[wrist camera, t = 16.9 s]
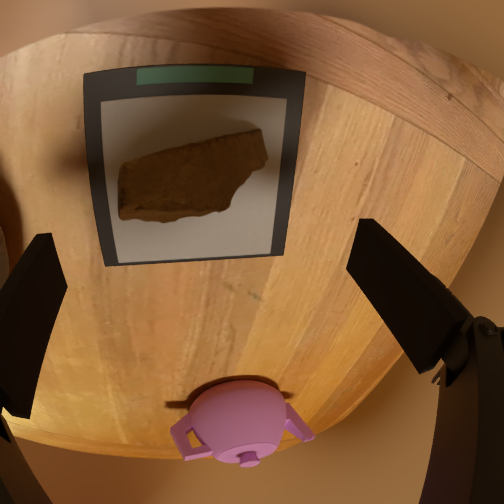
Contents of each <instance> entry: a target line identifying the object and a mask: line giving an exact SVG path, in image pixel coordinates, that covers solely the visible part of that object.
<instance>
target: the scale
mask: <svg viewBox="0 0 504 504" xmlns="http://www.w3.org/2000/svg"><path fill="white" fill-rule="evenodd" d="M305 77H306V72H303V71H296V70H289V69H281V68H272V67H262V66H249V65H233V64H165V65H149V66H137V67H127V68H118V69H111V70H104V71H97V72H91V73H85V74H84V76H83V95H84V124H85V140H86V152H87V162H88V171H89V180H90V187H91V195H92V201H93V208H94V214H95V220H96V225H97V231H98V236H99V241H100V246H101V251H102V255H103V260H104V264H105V266H106V267H107V266H124V265H141V264H157V263H174V262H190V261H206V260H222V259H237V258H253V257H268V256H283V255H284V248H285V241H286V234H287V227H288V220H289V213H290V206H291V198H292V191H293V183H294V175H295V167H296V159H297V151H298V142H299V134H300V125H301V116H302V107H303V97H304V87H305ZM258 128H260V129H261V130H262V135H263V139H264V144H265V148H266V152H267V154H268V160H267V161H266V162H265V166H264V168H262V169H260V170H257V171H253V172H252V174H251V176H250V177H249V178H248V179H247V180H246V182H245V183H244V184H243V185H242V186H240V187H239V188H238V189H237V191H236V192H235V194H234V196H233V198H232V200H231V205H230V207H229V208H228V209H227V210H225V211H222V212H220V213H218V212H212V213H210V214H208V215H205V216H202V217H185V218H179V219H178V220H177V221H176V222H169V223H161V222H153V221H151V222H145V221H142V220H139V219H132V220H128V221H127V220H126V221H123V220H120V219H119V216H118V176H119V168H120V165H121V164H122V162H123V161H127V160H130V159H134V158H137V157H140V156H143V155H146V154H150V153H154V152H157V151H161V150H164V149H167V148H171V147H177V146H181V145H183V144H187V143H190V142H191V143H194V142H197V141H200V140H204V139H209V138H213V137H217V136H222V135H225V134H233V133H238V132H244V131H249V130H253V129H258Z"/></svg>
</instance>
